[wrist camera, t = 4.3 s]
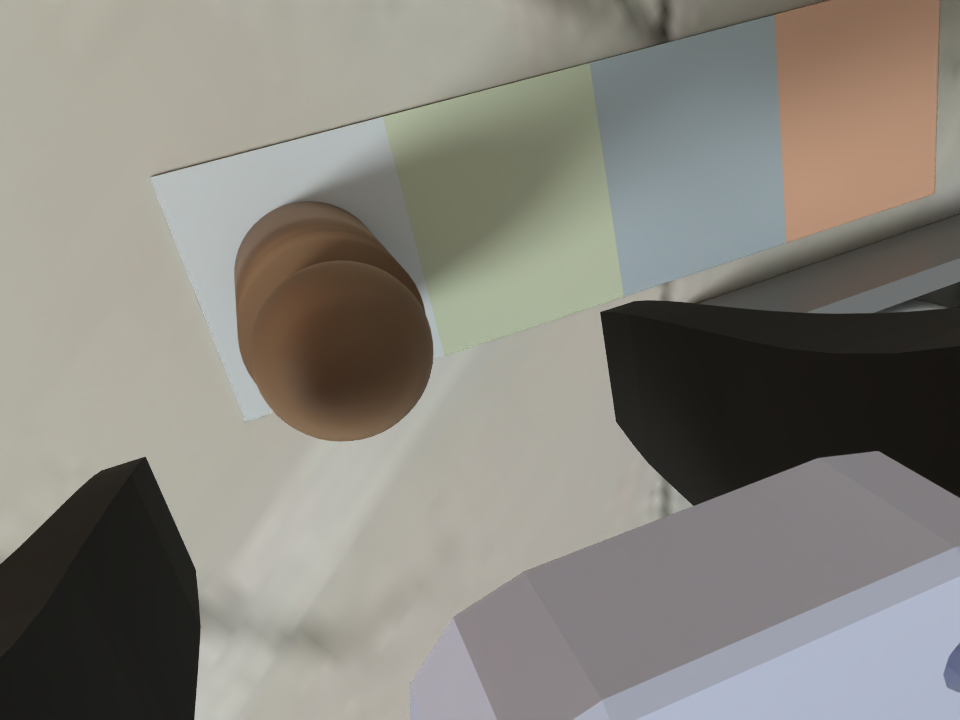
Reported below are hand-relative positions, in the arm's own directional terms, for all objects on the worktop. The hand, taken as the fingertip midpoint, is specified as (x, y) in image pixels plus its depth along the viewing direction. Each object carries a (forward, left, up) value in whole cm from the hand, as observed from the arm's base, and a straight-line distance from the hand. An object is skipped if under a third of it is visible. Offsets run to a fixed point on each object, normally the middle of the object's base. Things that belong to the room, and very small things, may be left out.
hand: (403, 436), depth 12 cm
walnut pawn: (0, 0, -10) cm, 10 cm away
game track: (0, -9, -10) cm, 14 cm away
